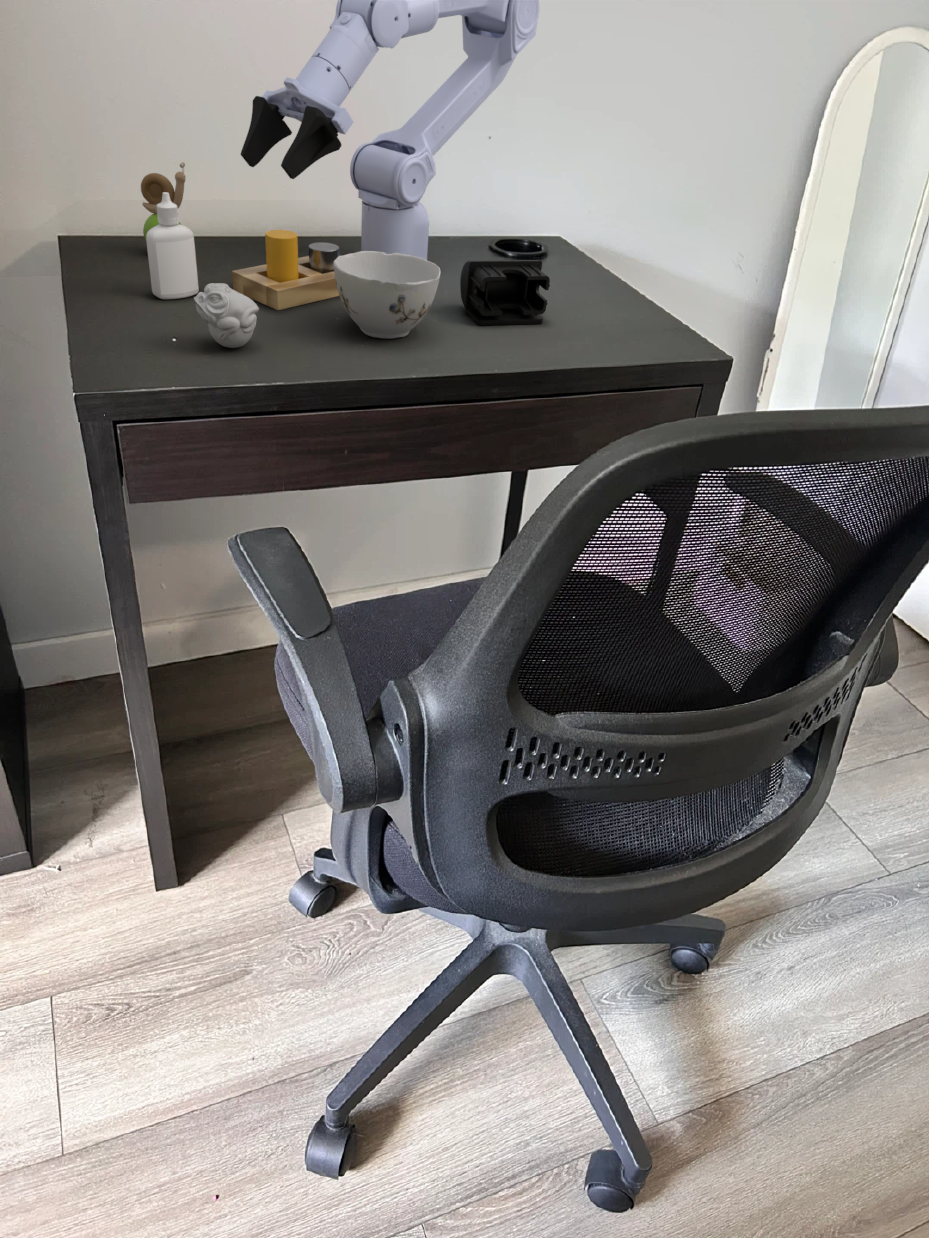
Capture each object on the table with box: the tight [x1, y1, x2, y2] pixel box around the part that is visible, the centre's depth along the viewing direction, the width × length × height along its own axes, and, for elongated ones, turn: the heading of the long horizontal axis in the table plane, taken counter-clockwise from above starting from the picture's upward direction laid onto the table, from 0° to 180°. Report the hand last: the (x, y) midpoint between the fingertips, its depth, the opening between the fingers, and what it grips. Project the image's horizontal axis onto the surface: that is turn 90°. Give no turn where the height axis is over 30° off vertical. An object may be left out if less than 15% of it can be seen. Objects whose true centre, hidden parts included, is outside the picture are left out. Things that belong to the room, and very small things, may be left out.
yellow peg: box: [264, 229, 299, 283], centre depth 118 cm, size 4×4×8 cm
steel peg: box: [308, 241, 340, 274], centre depth 123 cm, size 4×4×5 cm
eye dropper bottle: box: [145, 192, 200, 300], centre depth 112 cm, size 4×6×12 cm
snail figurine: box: [140, 161, 187, 243], centre depth 126 cm, size 5×6×12 cm
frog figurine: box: [193, 282, 260, 349], centre depth 102 cm, size 6×7×7 cm
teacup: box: [334, 250, 442, 340], centre depth 111 cm, size 15×12×8 cm
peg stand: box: [231, 255, 340, 311], centre depth 121 cm, size 9×16×2 cm, turn 138°
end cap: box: [459, 259, 551, 326], centre depth 118 cm, size 10×7×7 cm
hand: (266, 166), depth 110 cm, fingers open, 7 cm apart
